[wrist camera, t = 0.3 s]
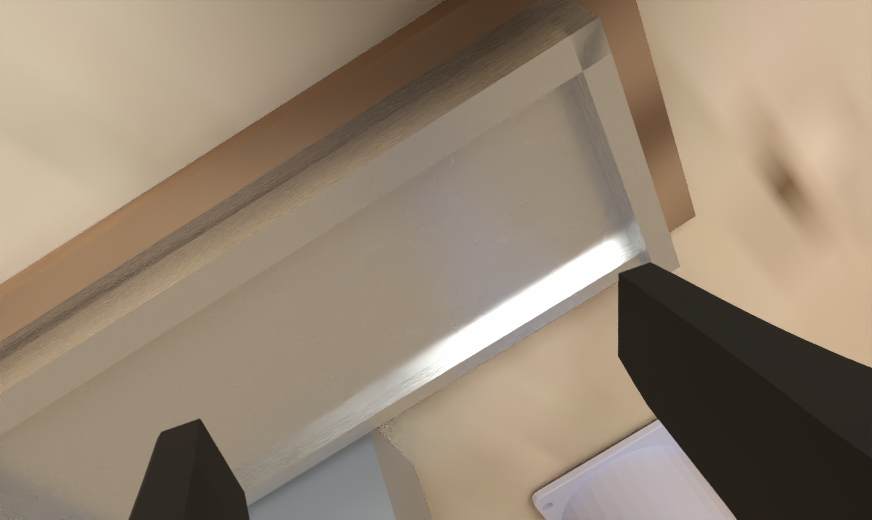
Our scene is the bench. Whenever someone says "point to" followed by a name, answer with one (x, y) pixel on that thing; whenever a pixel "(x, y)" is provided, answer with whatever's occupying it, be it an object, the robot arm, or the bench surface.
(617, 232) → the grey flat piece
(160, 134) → the bench surface
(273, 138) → the board
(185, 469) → the robot arm
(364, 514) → the block
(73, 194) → the bench surface
